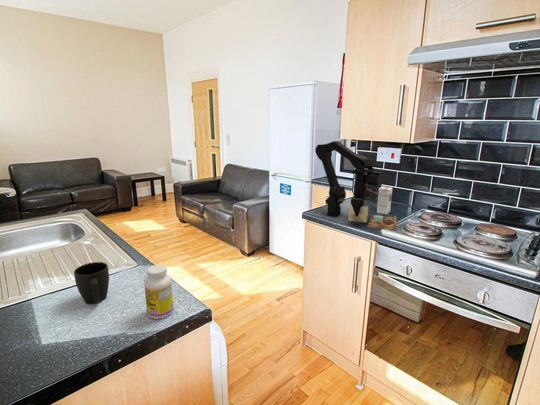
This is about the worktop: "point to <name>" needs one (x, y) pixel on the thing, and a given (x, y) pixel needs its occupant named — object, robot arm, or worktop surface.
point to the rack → (383, 226)
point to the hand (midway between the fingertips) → (358, 213)
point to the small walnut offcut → (388, 221)
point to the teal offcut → (378, 218)
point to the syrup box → (384, 200)
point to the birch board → (362, 214)
